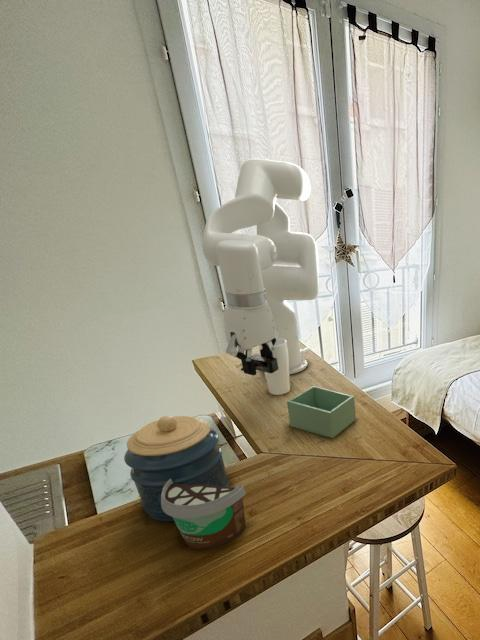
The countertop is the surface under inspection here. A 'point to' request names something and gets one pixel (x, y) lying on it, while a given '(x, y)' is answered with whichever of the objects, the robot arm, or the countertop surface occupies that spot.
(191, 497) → the food container
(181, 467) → the canister
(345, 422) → the bin
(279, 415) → the countertop surface
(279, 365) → the drinking glass
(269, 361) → the wireless earbuds
